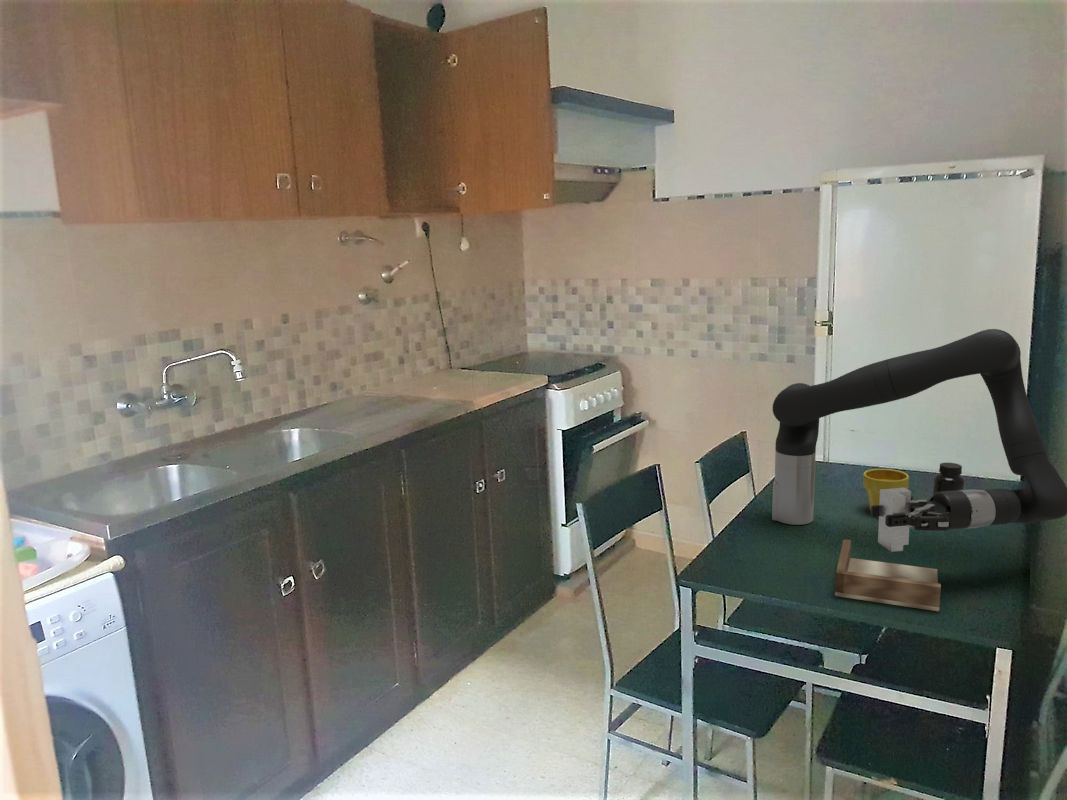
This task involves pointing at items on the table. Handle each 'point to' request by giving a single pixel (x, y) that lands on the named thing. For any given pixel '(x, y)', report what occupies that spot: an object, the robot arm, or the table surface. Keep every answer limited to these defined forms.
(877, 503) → the plant pot
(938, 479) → the supplement bottle
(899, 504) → the bracket
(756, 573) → the table surface
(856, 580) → the wooden tray
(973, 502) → the robot arm
